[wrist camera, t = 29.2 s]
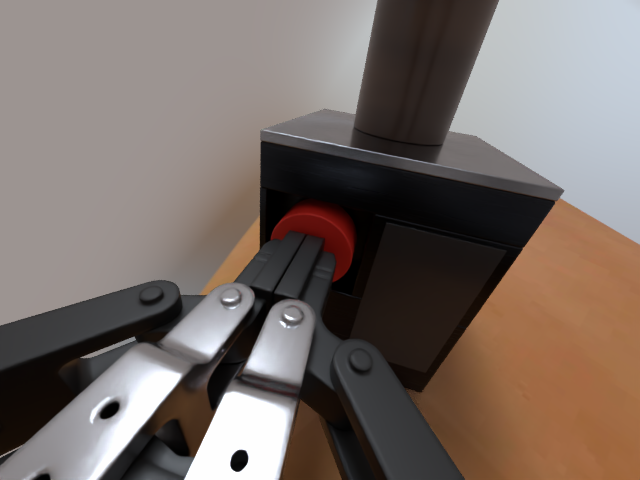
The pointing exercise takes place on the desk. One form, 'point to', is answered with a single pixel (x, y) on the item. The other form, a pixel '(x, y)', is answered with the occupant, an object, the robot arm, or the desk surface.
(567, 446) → the desk surface
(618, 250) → the desk surface
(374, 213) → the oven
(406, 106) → the pepper grinder
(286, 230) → the button
